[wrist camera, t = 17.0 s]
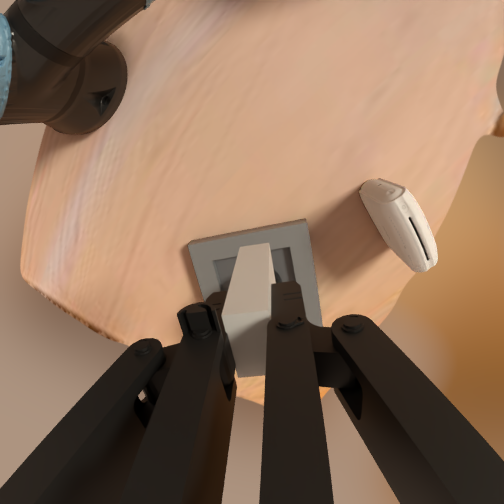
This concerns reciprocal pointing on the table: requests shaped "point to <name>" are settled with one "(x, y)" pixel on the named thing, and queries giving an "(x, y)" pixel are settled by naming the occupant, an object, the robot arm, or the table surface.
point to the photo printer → (400, 223)
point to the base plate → (282, 252)
